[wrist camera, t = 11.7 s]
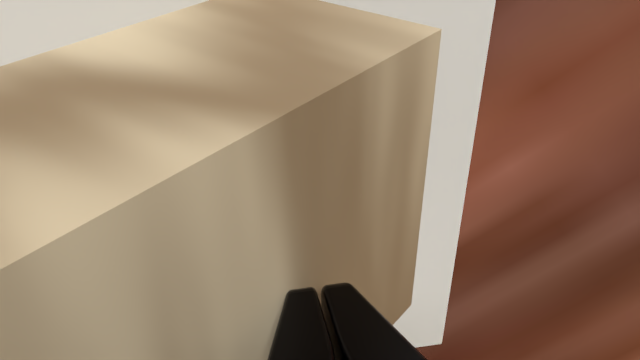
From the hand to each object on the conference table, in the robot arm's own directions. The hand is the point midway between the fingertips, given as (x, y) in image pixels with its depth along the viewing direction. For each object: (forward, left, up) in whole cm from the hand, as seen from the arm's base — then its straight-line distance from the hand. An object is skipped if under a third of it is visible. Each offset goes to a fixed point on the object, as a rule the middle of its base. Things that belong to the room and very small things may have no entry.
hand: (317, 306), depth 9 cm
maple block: (-1, 0, -4) cm, 4 cm away
